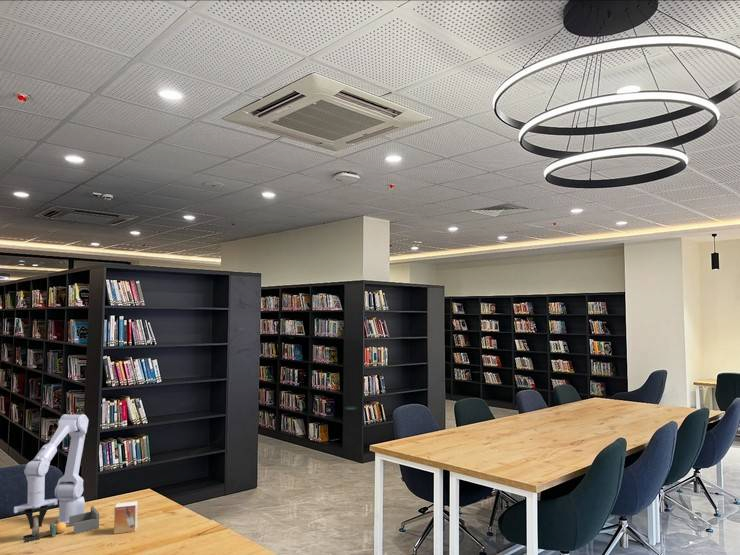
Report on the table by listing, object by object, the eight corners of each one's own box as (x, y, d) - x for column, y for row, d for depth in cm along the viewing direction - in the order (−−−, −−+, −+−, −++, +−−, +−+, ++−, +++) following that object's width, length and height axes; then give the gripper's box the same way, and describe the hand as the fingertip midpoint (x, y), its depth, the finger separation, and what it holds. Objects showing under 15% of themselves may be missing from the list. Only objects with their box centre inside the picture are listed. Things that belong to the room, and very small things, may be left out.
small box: (113, 534, 217) (114, 507, 218) (116, 529, 222) (116, 502, 223) (135, 532, 219) (135, 505, 220) (137, 526, 225) (137, 500, 225)
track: (38, 536, 217) (38, 532, 217) (39, 539, 214) (39, 535, 214) (23, 539, 214) (23, 535, 214) (24, 543, 210) (24, 539, 211)
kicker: (53, 530, 221) (53, 509, 222) (55, 535, 216) (56, 514, 216) (30, 535, 216) (31, 514, 217) (32, 540, 211) (33, 519, 212)
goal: (93, 520, 232) (93, 506, 232) (98, 528, 223) (99, 513, 224) (69, 526, 227) (69, 511, 227) (74, 534, 218) (74, 518, 218)
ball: (65, 529, 223) (65, 519, 223) (66, 532, 219) (67, 522, 220) (54, 532, 220) (54, 522, 220) (55, 535, 217) (55, 525, 217)
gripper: (15, 498, 208) (14, 535, 207) (58, 490, 217) (58, 525, 216) (13, 493, 214) (12, 529, 213) (56, 485, 222) (55, 520, 222)
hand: (35, 527), depth 215 cm, fingers closed on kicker, 2 cm apart
